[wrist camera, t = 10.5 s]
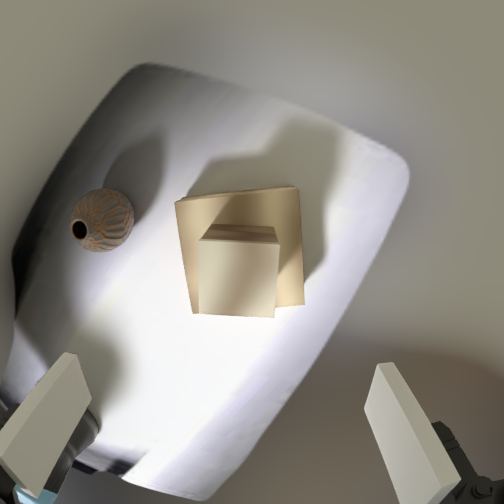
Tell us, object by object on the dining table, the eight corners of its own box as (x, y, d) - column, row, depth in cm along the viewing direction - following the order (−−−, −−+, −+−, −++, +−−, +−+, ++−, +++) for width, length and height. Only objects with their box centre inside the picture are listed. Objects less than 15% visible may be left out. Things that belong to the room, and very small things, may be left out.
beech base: (199, 295, 37) (192, 314, 32) (185, 196, 34) (173, 201, 29) (298, 286, 37) (305, 305, 32) (292, 185, 33) (298, 189, 29)
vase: (139, 182, 33) (105, 190, 24) (144, 241, 35) (114, 264, 26) (89, 189, 33) (48, 198, 25) (96, 243, 35) (58, 265, 26)
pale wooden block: (210, 282, 31) (198, 313, 24) (211, 223, 30) (198, 240, 23) (270, 285, 31) (274, 317, 24) (274, 226, 30) (279, 244, 23)
